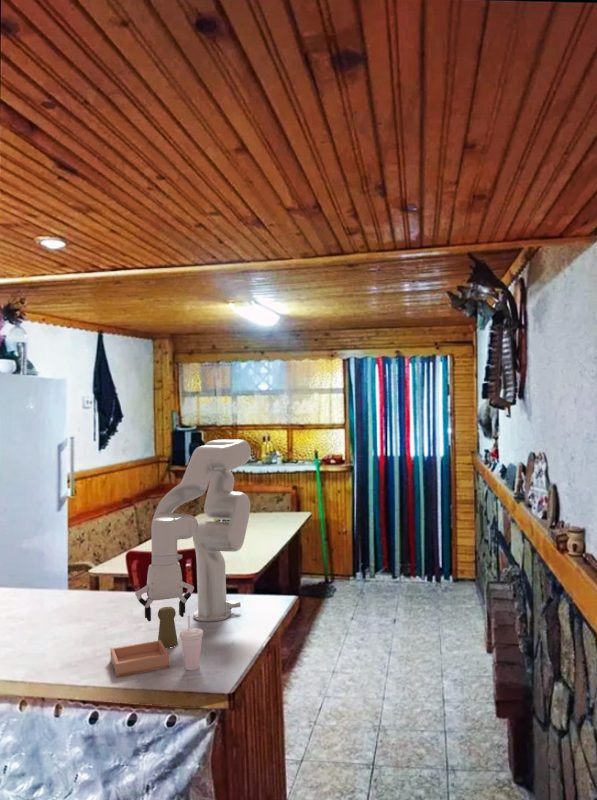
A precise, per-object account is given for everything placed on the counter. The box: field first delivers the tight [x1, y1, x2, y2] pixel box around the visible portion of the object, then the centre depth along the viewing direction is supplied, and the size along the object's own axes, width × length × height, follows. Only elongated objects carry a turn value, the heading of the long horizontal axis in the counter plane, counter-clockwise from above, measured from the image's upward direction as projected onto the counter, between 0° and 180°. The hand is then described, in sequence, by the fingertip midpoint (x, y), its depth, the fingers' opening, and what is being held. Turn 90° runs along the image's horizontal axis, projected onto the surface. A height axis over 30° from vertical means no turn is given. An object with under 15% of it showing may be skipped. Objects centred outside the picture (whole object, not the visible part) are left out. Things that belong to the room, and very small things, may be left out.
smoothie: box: [179, 615, 204, 671], centre depth 176 cm, size 6×6×14 cm
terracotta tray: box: [110, 639, 170, 678], centre depth 179 cm, size 14×12×4 cm
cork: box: [157, 606, 179, 649], centre depth 193 cm, size 6×6×11 cm
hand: (165, 617), depth 193 cm, fingers open, 9 cm apart
